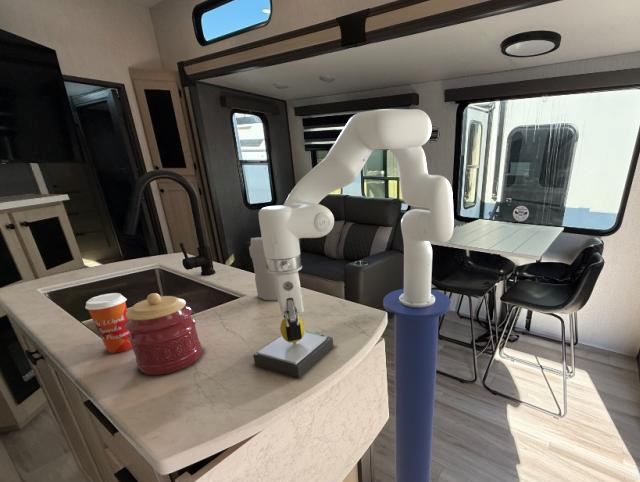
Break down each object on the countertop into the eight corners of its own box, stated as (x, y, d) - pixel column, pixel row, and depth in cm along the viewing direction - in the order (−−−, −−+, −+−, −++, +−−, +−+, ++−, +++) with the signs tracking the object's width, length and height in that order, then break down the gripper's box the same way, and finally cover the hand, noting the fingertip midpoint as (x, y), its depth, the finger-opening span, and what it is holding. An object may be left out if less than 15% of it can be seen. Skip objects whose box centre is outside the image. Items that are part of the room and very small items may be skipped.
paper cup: (97, 357, 79) (76, 306, 74) (109, 342, 85) (92, 294, 80) (135, 351, 82) (118, 301, 77) (145, 337, 88) (129, 290, 83)
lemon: (277, 347, 77) (273, 317, 74) (292, 336, 82) (288, 308, 79) (297, 351, 75) (293, 321, 73) (310, 339, 80) (307, 311, 77)
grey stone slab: (253, 297, 114) (242, 237, 106) (261, 293, 117) (252, 235, 110) (277, 302, 110) (267, 240, 103) (284, 297, 114) (276, 237, 106)
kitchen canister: (132, 382, 70) (105, 310, 64) (146, 352, 81) (125, 288, 75) (200, 367, 75) (182, 299, 69) (205, 341, 86) (189, 280, 80)
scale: (293, 337, 88) (292, 326, 87) (333, 347, 84) (332, 335, 82) (254, 365, 76) (252, 352, 75) (299, 378, 72) (297, 364, 70)
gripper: (306, 272, 65) (314, 347, 72) (297, 251, 80) (304, 316, 86) (267, 277, 62) (279, 355, 69) (265, 255, 77) (275, 321, 84)
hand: (293, 332), depth 78 cm, fingers closed on lemon, 5 cm apart
